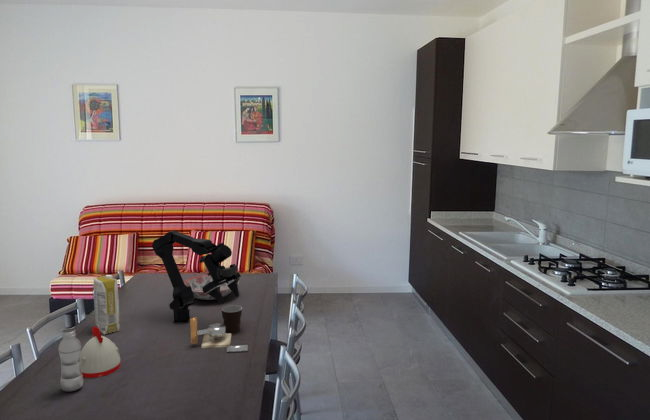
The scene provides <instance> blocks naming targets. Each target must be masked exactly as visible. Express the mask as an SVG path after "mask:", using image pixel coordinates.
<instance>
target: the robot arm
mask: <svg viewBox="0 0 650 420" xmlns="http://www.w3.org/2000/svg"><path fill="white" fill-rule="evenodd" d="M174 244H179V245H181V246H184V247H187V248H189V249H191V251H192V252H193V253H194V254H196V255H197V256H200V259H199V264H203V263H204V266H205V267H206V270H207V271H208V273H207V275H208V276H211V277H212V279H213V281H212V282H209V283H208V284H206V285H205V286H203V287H202V290H203V292H204V294H205V293H207V292H208V293H207V295H208V294H209V295H210V296H212V297H214V298H215V299H214V300H216V301H218V302H220V304H221V305H225V304H226V301H225V299H224V297H222V294H221V292H220V286H219V285H222V284H224V283H227V284H228V285H227V286H228V287H229V289H230V290H231V293H232V294H233V295H234V297H236V298H239V297H240V293H239V284H238V281H239V280H240V278H241V277H242V276H241V274H240V272H239V271H238V266H237V265H236V263H232V264H229V267H225V265H222V264H221V263H223V262H224V261H226V260H227V259H229V258H230V257H231V256H232V255H233V252H232V248H230V247H229V246H228V245H227V244H225V243H224V242H221V243H219V244H215V243H213V241H212V240H211V239H207V238H195V237H193V236H190V235H187V234H186V233H182V232H179V230H171V231H168V232H166V233H165V234H164V235H163V236H160V237H158V238H157V239H154V240H153V241H152V244H151V248H152V250H153V252H154V253H155V255H156V256H157V257H158V258H160V259H161V260H162V263H163V267H164V269H165V270H166V273H167V276H168V279H169V280H170V284H171V285H172V289H173V290H172V298H173V300H172V301H171V302H170V303H169V305H168V306H169V309H170V310H172V311H173V320H172V323H173V324H182V323H185V324H187V323H189V322H190V318H191V309H190V308H189V307H190V306H192V305H193V303H194V299H195V297H194V295H193V294H194V293H193V291H192V288H191V286H186V285H185V284H184V282H183V281H184V279H183V277H182V275H181V272H180V270H179V267H178V265H177V263H176V260H175V256H174V254H173V253H174V250H175V249H174ZM239 282H240V281H239ZM218 286H219V287H218Z"/></svg>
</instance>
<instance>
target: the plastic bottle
mask: <svg viewBox="0 0 650 420" xmlns="http://www.w3.org/2000/svg"><path fill="white" fill-rule="evenodd" d="M76 336H77V333H76V329H75V328H65V329H63V330H62V331H61V337H62V339H61V341H60V342H59V344H58V347H57V349H58V353H59V354H58V355H59V358H60V365H61V373H60V374H61V376H60V382H59V385H60V389H61V390H62V391H63V392H66V393H71V392H74V391H77V390H79V389H81V388H82V386H83V385H84V377H83V375H82V372H81V365H80V354H81V351H82V343H81V341H80V340H79V338H77V337H76Z"/></svg>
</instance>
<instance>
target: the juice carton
mask: <svg viewBox="0 0 650 420" xmlns="http://www.w3.org/2000/svg"><path fill="white" fill-rule="evenodd" d="M118 285H119V284H118V280H117V278H114V277H113V274H112V275H111V274H106V275H103V276H100V277H94V278H93V289H92V290H93V306H94V307H93V308H94V318H95V319H94V320H95V321H94V322H95V326H96V328H97V327H98V329H100V333H101V335H103V336H104V335H105V334H106V335H108V333H109V334H113V333H115V332H119V331H120V322H121V321H120V302H119V286H118ZM112 332H113V333H112ZM106 335H105V336H106Z"/></svg>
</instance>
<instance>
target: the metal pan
mask: <svg viewBox="0 0 650 420" xmlns="http://www.w3.org/2000/svg"><path fill="white" fill-rule="evenodd" d="M189 324H190V325H189V326H190V344H193V345H196V344H198V341H199V340H198V339H199V338H198V336H200V335H204V334H208V336H210V337H221V336H224V335H225V334H226V326H225V325H224V324H223V323H220V322H219V323H218V322H216V323H212V324H209V325H208V326H207V328H204V329H200V330H198V317H196V316H192V317H190V320H189Z"/></svg>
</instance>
